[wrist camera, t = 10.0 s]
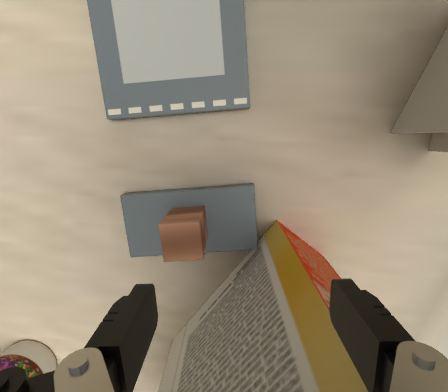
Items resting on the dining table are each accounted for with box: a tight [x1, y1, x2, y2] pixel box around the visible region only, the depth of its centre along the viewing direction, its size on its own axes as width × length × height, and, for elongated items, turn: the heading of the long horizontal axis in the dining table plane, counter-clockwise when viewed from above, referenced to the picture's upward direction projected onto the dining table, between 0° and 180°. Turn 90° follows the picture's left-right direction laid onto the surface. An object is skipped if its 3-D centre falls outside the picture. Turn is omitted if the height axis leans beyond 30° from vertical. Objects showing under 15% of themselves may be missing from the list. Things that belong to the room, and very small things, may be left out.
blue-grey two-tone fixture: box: [120, 183, 258, 262], centre depth 29 cm, size 8×16×8 cm, turn 95°
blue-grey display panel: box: [87, 0, 250, 120], centre depth 28 cm, size 14×16×2 cm
